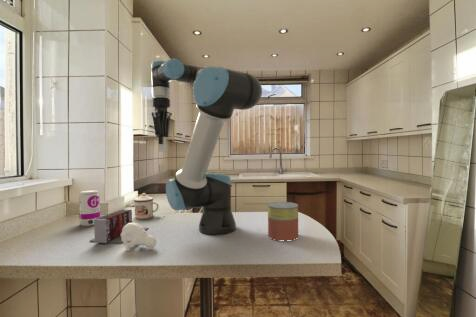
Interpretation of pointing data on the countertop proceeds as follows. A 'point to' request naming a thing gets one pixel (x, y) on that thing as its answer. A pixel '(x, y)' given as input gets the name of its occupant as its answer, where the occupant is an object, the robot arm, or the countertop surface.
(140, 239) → the white irregular piece
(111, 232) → the supplement box
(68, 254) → the countertop surface
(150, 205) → the teacup with lid
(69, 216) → the countertop surface
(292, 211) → the canned food
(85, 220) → the supplement can
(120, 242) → the mat
